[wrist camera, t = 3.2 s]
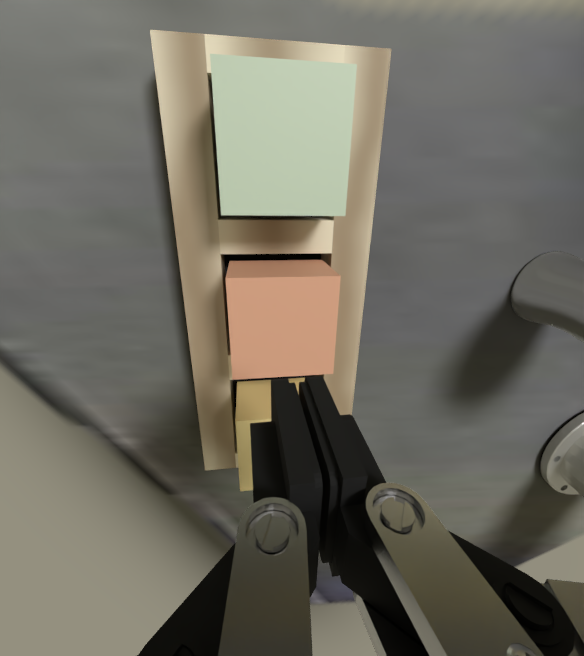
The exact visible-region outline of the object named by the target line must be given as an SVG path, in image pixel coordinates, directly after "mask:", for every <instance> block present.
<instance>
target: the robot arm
mask: <svg viewBox="0 0 584 656" xmlns="http://www.w3.org/2000/svg"><path fill="white" fill-rule="evenodd" d="M250 436H251V457H252V478H253V499H254V503H253V504H252V505H251V506H250V507H249V508H247V510H246V511H245V512H244V514H243V515H242V517H241V520H240V523H239V526H238V531H237V537H236V543H235V544H234V545H233V546H232V547H231V548H230V550H229V551H228V552H227V553H226V554H225V555H224V556H223V558H222V559H221V560H220V561H219V562H218V563H217V564H216V565H215V567H214V568H213V569H212V570H211V571H210V572H209V573H208V575H207V576H206V577H205V578H204V579H203V580H202V581H201V582H200V584H199V585H198V586H197V587H196V588H195V589H194V591H193V592H192V593H191V594H190V595H189V596H188V597H187V599H185V601H184V602H183V603H182V604H181V605H180V606H179V607H178V609H177V610H176V611H175V612H174V613H173V614H172V615H171V617H170V618H169V619H168V620H167V621H166V622H165V623H164V625H163V626H162V627H161V628H160V629H159V630H158V631H157V632H156V634H155V635H154V636H153V637H152V638H151V639H150V640H149V641H148V643H147V644H146V645H145V646H144V648H143V649H142V651H141V652H140V654H139V655H137V656H312V638H311V615H310V597H311V595H312V593H313V591H314V590H315V588H316V580H317V567H318V554H319V552H320V557H321V560H322V563H327V562H329V565H330V569H331V573H332V577H333V576H339V575H340V577H341V581H342V583H343V584H344V585H346V586H347V587H348V588H350V589H351V590H352V591H353V595H354V599H355V603H356V605H357V607H358V610H359V612H360V615H361V617H362V620H363V622H364V624H365V627H366V629H367V632H368V634H369V637H370V639H371V641H372V644H373V646H374V649H375V651H376V653H377V656H584V583H581V582H571V581H562V580H552V579H547V580H546V582H545V583H544V584H543V583H539V582H538V581H536V580H535V579H533V578H532V577H530V576H529V575H527V574H525V573H523V572H522V571H520V570H518V569H516V568H515V567H513V566H511V565H509V564H507V563H506V562H504V561H502V560H500V559H498V558H497V557H495V556H493V555H491V554H489V553H488V552H486V551H484V550H482V549H480V548H479V547H477V546H475V545H473V544H471V543H469V542H468V541H466V540H464V539H462V538H460V537H459V536H457V535H455V534H453V533H451V532H450V531H448V530H447V529H446V528H445V526H444V525H443V524H442V523H441V521H440V520H439V519H438V517H437V516H436V515H435V513H434V512H433V511H432V510H431V508H430V507H429V506H428V504H427V503H426V502H425V501H424V500H423V499H422V498H421V496H420V495H419V494H418V493H416V492H415V491H413V490H412V489H410V488H408V487H406V486H403V485H401V484H397V483H390V482H389V483H386V481H385V479H384V477H383V475H382V473H381V471H380V469H379V467H378V465H377V463H376V461H375V459H374V457H373V455H372V453H371V451H370V449H369V447H368V445H367V443H366V441H365V439H364V437H363V435H362V434H361V432H360V430H359V428H358V426H357V424H356V422H355V420H354V418H353V416H352V415H350V414H347V415H340V414H339V411H338V409H337V407H336V405H335V402H334V400H333V398H332V396H331V394H330V391H329V389H328V387H327V385H326V382H325V380H324V378H323V376H315V377H305V381H304V382H299V395H298V391H297V388H296V384H295V382H293V383H289V380H288V378H287V379H273V380H271V421H270V422H259V423H250ZM541 474H542V477H543V478H544V480H545V481H546V482H547V483H548V484H549V485H550V486H551V487H552V488H553V489H554V490H556V491H558V492H560V493H564V494H573V495H577V494H580V495H581V496H582V497H584V413H582V414H580V415H578V416H577V417H575V418H574V419H572V420H571V421H569V422H568V423H567V424H566V425H565V426H564V427H562V428H561V429H560V430H559V431H558V432H557V433H556V435H555V436H554V437H553V438H552V439H551V441H550V442H549V444H548V445H547V447H546V449H545V451H544V453H543V456H542V459H541Z"/></svg>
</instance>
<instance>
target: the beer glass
mask: <svg viewBox="0 0 584 656" xmlns="http://www.w3.org/2000/svg"><path fill="white" fill-rule="evenodd" d="M511 304H512V308H513V310H514V312H515V313H516V314H517V315H518V316H519V317H521V318H522V319H525V320H528V321H531V322H536V323H540V324H545V325H549V326H552V327H555V328H558V329H560V330H562V331H564V332H566V333H568V334H570V335H572V336H573V337H575V338H577V339H578V340H580V341H581V342H583V343H584V260H583V259H581V258H579V257H577V256H574V255H572V254H569V253H566V252H562V251H553V252H548V253H545V254H542V255H540V256H538V257H536V258H535V259H533V260H532V261H531V262H530V263H528V264H527V265H526V266H525V267H524V268H523V270H522V271H521V272H520V273H519V275H518V277H517V278H516V280H515V282H514V285H513V288H512V292H511Z"/></svg>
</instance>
